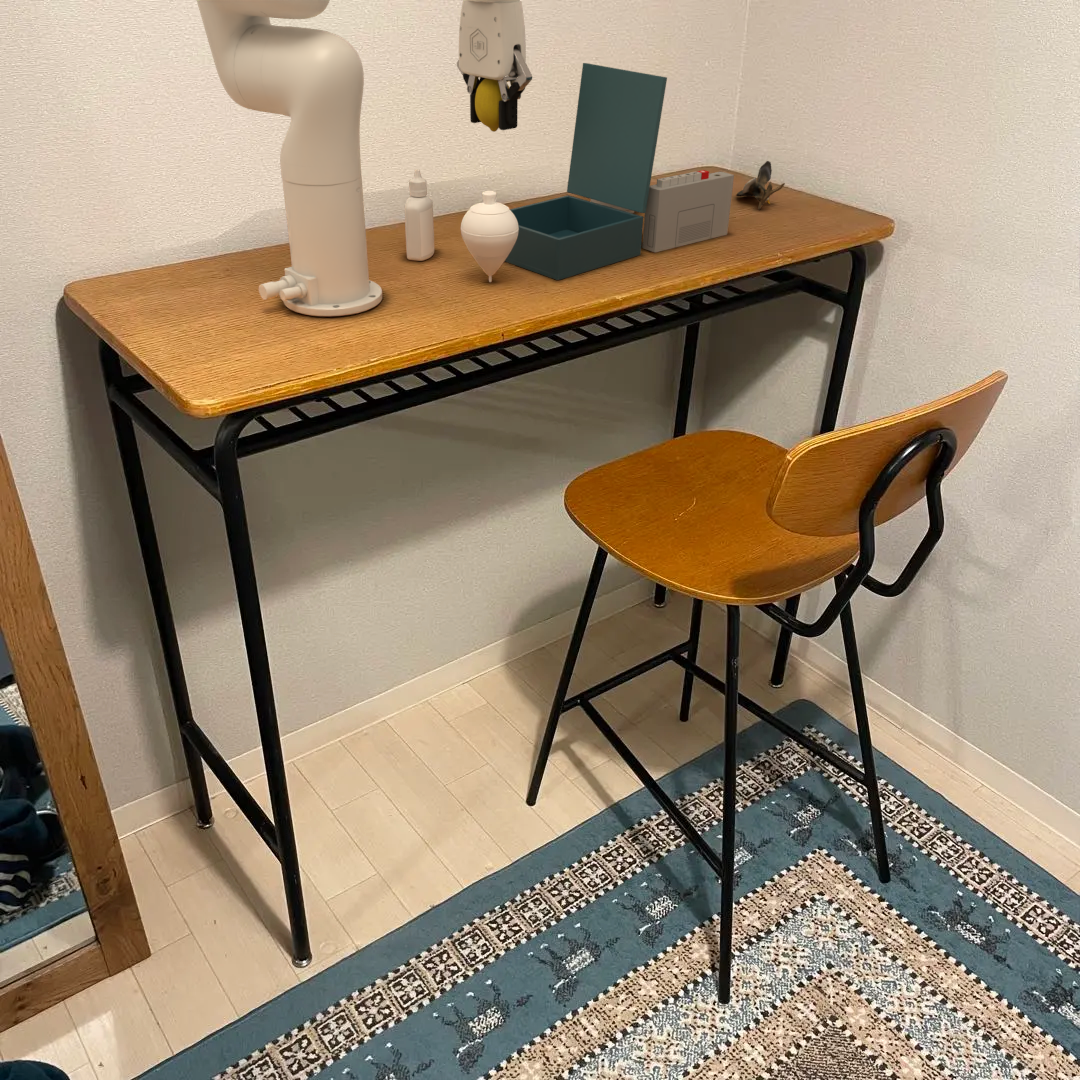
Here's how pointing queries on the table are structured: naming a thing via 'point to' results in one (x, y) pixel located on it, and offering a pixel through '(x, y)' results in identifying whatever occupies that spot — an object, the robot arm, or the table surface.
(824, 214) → the table surface
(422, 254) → the eye dropper bottle
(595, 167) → the lid
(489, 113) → the lemon
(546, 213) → the chest
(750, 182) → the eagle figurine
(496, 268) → the spinning top
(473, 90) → the robot arm
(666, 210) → the cassette player
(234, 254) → the table surface
